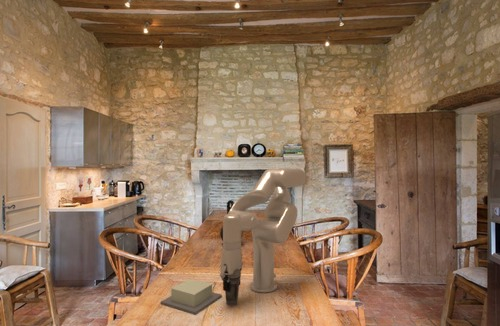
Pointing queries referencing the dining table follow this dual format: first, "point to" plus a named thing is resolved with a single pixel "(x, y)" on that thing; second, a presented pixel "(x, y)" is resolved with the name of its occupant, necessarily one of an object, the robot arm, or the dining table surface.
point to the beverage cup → (233, 288)
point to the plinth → (191, 309)
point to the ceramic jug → (227, 213)
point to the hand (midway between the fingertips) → (231, 287)
